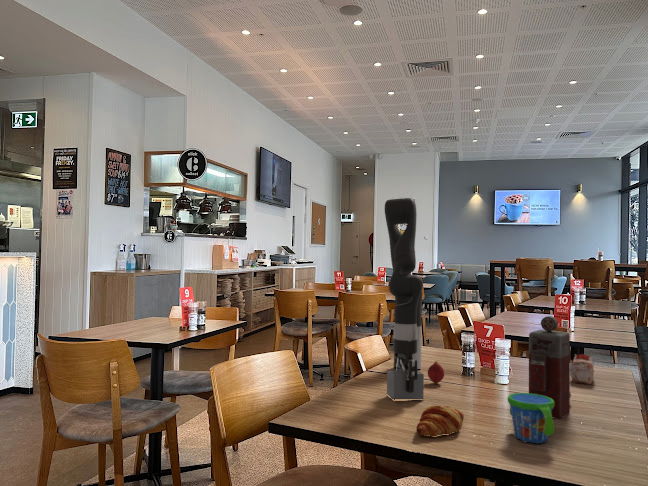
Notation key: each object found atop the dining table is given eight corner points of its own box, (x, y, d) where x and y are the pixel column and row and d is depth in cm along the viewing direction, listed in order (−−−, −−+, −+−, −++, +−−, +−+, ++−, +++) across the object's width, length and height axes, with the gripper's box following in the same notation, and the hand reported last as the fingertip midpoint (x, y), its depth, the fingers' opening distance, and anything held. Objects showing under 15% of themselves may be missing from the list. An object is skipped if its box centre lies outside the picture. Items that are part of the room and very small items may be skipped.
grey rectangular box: (386, 396, 161) (387, 370, 161) (415, 395, 163) (415, 369, 164) (393, 402, 155) (394, 375, 155) (423, 400, 157) (423, 373, 157)
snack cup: (497, 428, 132) (497, 389, 132) (536, 428, 133) (536, 389, 133) (524, 451, 117) (524, 407, 117) (568, 451, 117) (568, 407, 117)
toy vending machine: (525, 414, 145) (525, 316, 146) (538, 405, 153) (538, 313, 154) (558, 421, 139) (558, 319, 140) (569, 412, 147) (569, 316, 148)
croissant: (452, 431, 140) (440, 402, 143) (482, 421, 134) (469, 392, 137) (409, 450, 125) (398, 418, 128) (442, 440, 119) (428, 406, 122)
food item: (594, 386, 179) (594, 358, 179) (569, 383, 182) (569, 356, 183) (593, 378, 191) (593, 352, 191) (570, 375, 194) (570, 350, 195)
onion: (445, 386, 175) (446, 363, 176) (429, 385, 176) (429, 362, 176) (442, 381, 181) (442, 359, 182) (426, 381, 181) (426, 359, 182)
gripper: (386, 334, 166) (386, 383, 165) (402, 341, 152) (401, 395, 151) (408, 333, 167) (407, 382, 167) (425, 340, 153) (425, 394, 153)
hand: (404, 388), depth 159 cm, fingers open, 8 cm apart
